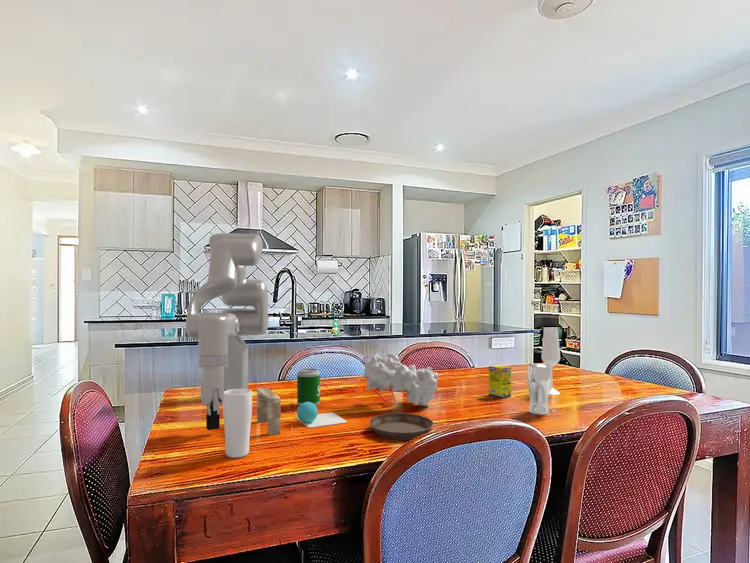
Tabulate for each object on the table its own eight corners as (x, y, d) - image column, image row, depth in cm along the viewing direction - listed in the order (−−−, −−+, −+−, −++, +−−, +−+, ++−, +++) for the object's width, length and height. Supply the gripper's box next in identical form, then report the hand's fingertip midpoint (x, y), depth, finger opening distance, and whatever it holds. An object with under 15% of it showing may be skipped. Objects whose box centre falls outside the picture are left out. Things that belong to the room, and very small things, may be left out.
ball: (314, 399, 146) (315, 419, 145) (294, 401, 143) (295, 422, 143) (319, 402, 140) (320, 423, 140) (298, 404, 138) (299, 426, 137)
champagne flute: (563, 394, 178) (563, 329, 178) (544, 394, 178) (544, 329, 178) (556, 390, 185) (556, 328, 185) (538, 390, 185) (538, 327, 185)
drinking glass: (226, 450, 118) (226, 388, 118) (254, 449, 118) (254, 388, 118) (219, 460, 111) (219, 395, 111) (249, 459, 112) (249, 394, 112)
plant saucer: (444, 439, 127) (444, 427, 127) (379, 445, 122) (379, 433, 122) (419, 421, 144) (419, 411, 144) (361, 426, 139) (361, 415, 139)
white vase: (550, 410, 155) (550, 364, 155) (550, 416, 149) (550, 367, 149) (527, 408, 158) (527, 362, 158) (527, 414, 151) (527, 366, 151)
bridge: (269, 435, 130) (269, 399, 130) (256, 421, 143) (257, 388, 143) (280, 433, 131) (280, 397, 131) (267, 419, 144) (267, 387, 145)
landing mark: (296, 417, 147) (296, 416, 147) (332, 413, 152) (332, 412, 152) (308, 428, 136) (308, 427, 136) (347, 422, 141) (347, 422, 141)
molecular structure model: (394, 419, 172) (342, 385, 162) (417, 373, 178) (368, 337, 168) (428, 431, 155) (372, 394, 145) (452, 380, 161) (400, 341, 151)
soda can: (315, 409, 157) (315, 372, 157) (293, 408, 158) (293, 371, 158) (322, 403, 164) (322, 368, 164) (301, 402, 166) (301, 367, 166)
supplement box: (502, 398, 171) (502, 368, 171) (488, 396, 176) (488, 365, 176) (511, 396, 175) (511, 366, 175) (497, 393, 180) (497, 364, 180)
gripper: (195, 358, 136) (195, 423, 135) (201, 366, 122) (201, 438, 122) (223, 356, 139) (222, 420, 139) (232, 363, 126) (232, 434, 125)
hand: (212, 428), depth 130 cm, fingers closed
